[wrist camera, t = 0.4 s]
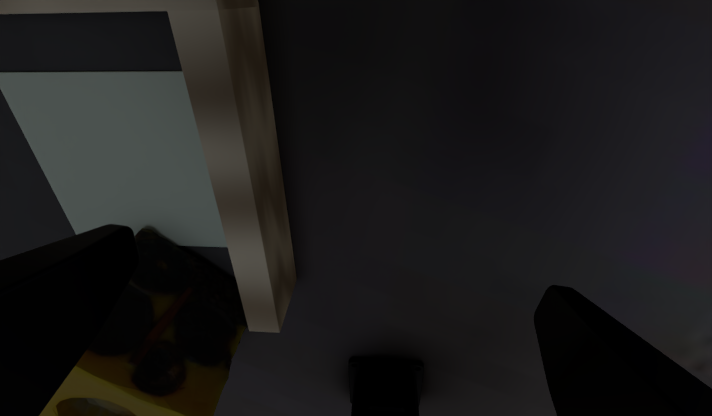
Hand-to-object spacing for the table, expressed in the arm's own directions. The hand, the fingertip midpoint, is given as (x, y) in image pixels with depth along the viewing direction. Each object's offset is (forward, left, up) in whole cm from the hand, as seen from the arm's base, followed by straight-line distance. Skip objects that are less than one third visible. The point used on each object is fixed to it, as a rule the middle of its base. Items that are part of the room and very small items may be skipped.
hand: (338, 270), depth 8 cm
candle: (-15, +15, -14) cm, 26 cm away
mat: (-4, +15, -14) cm, 21 cm away
